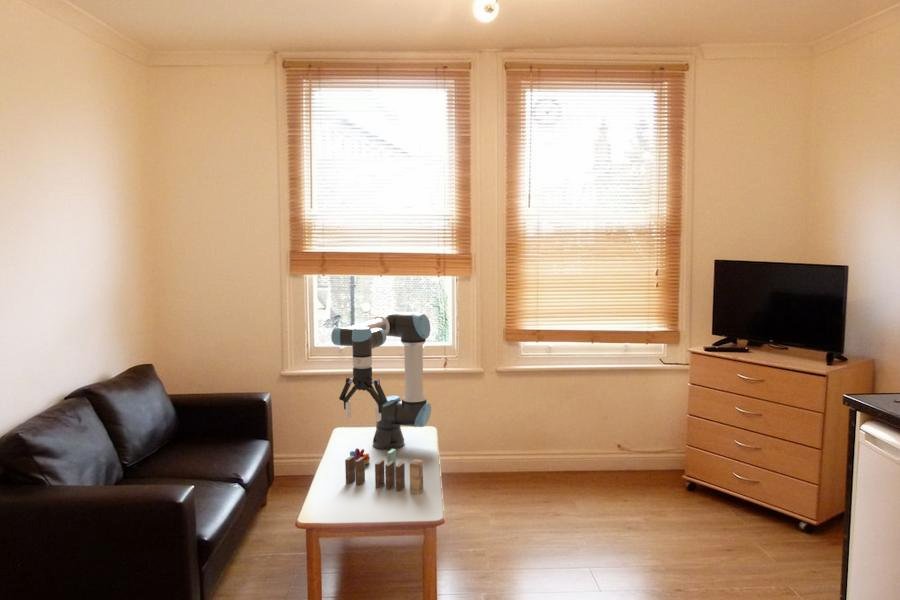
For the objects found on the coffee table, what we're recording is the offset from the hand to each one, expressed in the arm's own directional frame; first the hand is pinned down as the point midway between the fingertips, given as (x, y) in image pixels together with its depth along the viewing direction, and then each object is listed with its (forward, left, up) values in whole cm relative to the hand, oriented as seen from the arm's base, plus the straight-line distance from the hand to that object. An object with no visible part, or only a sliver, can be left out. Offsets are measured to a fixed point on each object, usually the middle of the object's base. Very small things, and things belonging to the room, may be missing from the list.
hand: (363, 419), depth 243 cm
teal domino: (-16, +4, -28) cm, 33 cm away
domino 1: (-3, -8, -28) cm, 29 cm away
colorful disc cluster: (-21, -14, -28) cm, 38 cm away
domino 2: (-3, -4, -28) cm, 28 cm away
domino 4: (-3, +10, -28) cm, 30 cm away
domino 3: (-3, +5, -28) cm, 29 cm away
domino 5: (-3, +14, -28) cm, 32 cm away
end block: (-3, +21, -28) cm, 35 cm away
